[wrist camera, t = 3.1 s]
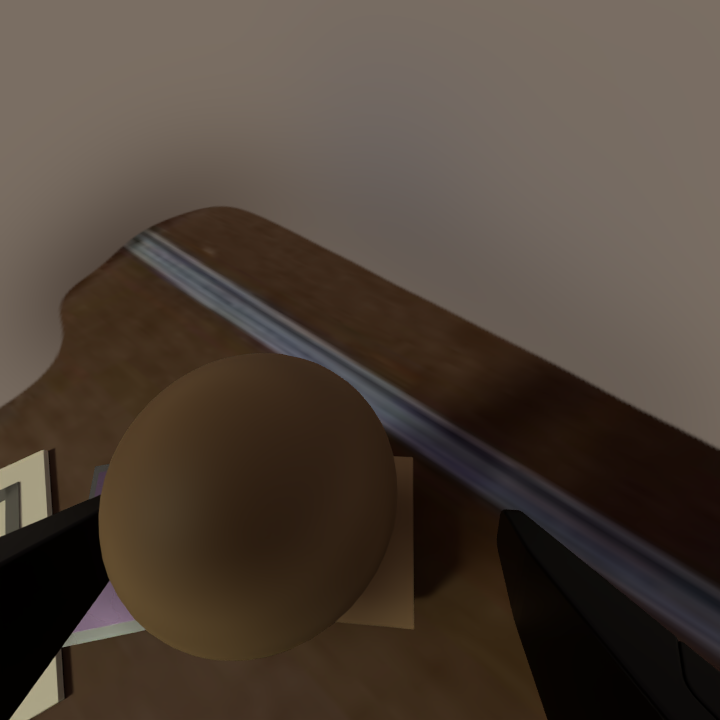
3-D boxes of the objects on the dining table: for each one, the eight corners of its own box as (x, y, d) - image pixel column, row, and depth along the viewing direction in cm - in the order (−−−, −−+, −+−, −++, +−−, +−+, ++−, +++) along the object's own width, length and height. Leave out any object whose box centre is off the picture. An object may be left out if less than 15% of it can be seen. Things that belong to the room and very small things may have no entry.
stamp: (407, 614, 14) (585, 1045, 2) (274, 602, 15) (-347, 871, 2) (408, 473, 17) (477, 243, 4) (295, 466, 17) (71, 242, 5)
